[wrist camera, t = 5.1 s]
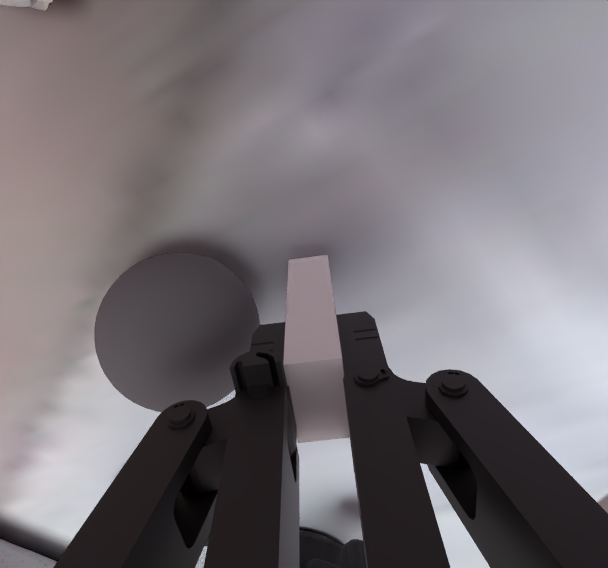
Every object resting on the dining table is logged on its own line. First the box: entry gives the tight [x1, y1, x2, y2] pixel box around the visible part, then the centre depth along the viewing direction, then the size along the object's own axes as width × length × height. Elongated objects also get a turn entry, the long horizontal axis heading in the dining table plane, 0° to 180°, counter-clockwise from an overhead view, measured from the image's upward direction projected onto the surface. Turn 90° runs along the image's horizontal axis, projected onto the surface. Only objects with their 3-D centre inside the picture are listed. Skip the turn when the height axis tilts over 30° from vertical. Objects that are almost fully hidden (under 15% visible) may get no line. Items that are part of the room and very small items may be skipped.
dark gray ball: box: [95, 253, 260, 412], centre depth 17 cm, size 6×6×6 cm
